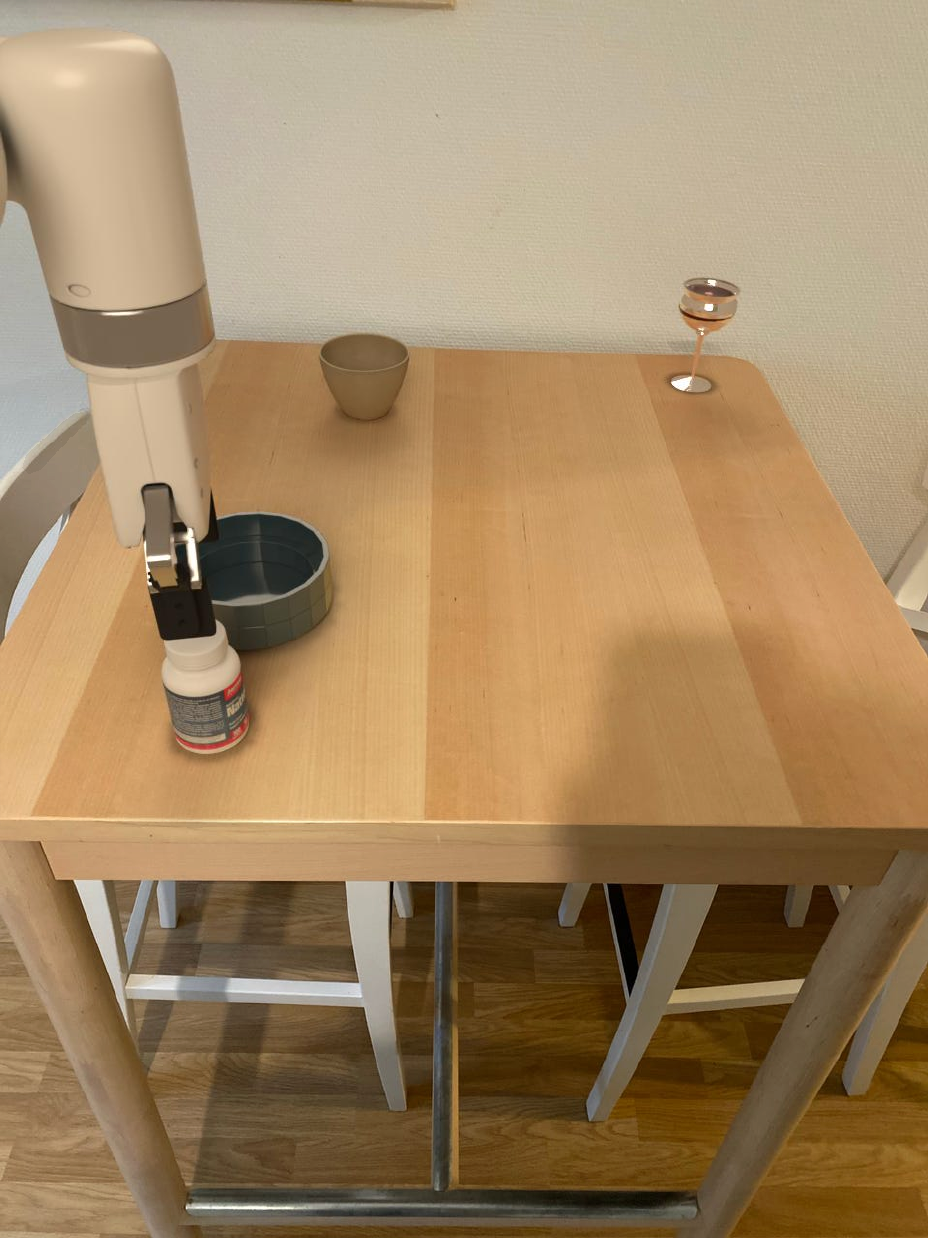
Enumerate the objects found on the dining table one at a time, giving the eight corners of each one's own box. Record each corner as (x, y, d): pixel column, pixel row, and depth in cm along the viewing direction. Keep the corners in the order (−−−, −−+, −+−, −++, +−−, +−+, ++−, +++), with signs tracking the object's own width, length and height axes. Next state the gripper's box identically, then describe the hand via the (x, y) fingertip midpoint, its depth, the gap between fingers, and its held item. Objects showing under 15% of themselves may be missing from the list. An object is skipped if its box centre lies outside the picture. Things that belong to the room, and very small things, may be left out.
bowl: (169, 662, 70) (158, 612, 67) (178, 564, 80) (168, 516, 77) (337, 647, 72) (334, 598, 69) (326, 553, 82) (323, 506, 79)
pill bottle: (245, 755, 63) (229, 661, 58) (169, 757, 63) (145, 663, 57) (253, 702, 67) (239, 609, 62) (182, 703, 67) (161, 610, 61)
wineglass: (726, 394, 111) (750, 297, 103) (673, 396, 110) (693, 298, 102) (707, 371, 116) (728, 276, 108) (656, 372, 115) (674, 277, 108)
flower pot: (303, 412, 103) (299, 351, 98) (362, 383, 109) (360, 325, 105) (369, 440, 99) (367, 378, 94) (427, 408, 105) (428, 349, 100)
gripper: (81, 264, 52) (142, 514, 63) (29, 402, 39) (117, 687, 50) (215, 259, 53) (252, 506, 64) (208, 391, 40) (255, 672, 51)
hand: (192, 585), depth 57 cm, fingers open, 9 cm apart
